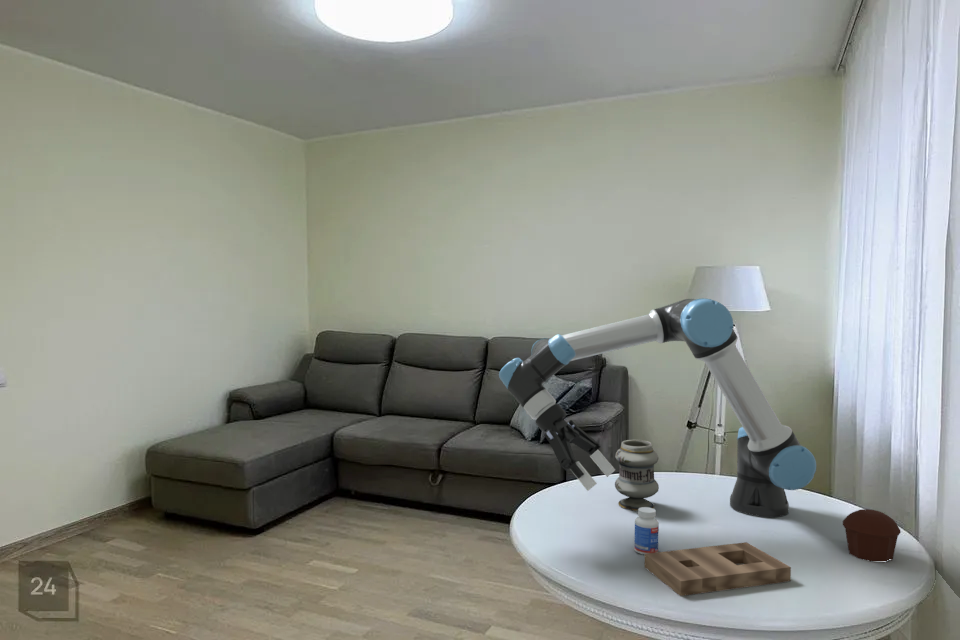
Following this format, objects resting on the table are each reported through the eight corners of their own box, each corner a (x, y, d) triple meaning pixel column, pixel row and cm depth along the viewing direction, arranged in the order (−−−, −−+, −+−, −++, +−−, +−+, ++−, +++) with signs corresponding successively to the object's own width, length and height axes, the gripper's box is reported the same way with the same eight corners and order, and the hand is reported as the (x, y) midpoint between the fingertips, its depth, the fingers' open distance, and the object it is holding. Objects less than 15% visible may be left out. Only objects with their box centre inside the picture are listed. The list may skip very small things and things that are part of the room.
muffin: (866, 566, 142) (867, 521, 142) (830, 547, 153) (831, 505, 153) (912, 562, 145) (913, 518, 144) (873, 543, 155) (874, 502, 155)
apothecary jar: (608, 507, 181) (609, 444, 180) (622, 496, 191) (623, 436, 191) (651, 515, 175) (651, 449, 174) (663, 503, 185) (664, 441, 184)
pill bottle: (654, 557, 147) (654, 515, 146) (631, 552, 149) (631, 510, 149) (661, 549, 151) (661, 508, 151) (638, 544, 154) (639, 504, 154)
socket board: (746, 555, 148) (746, 542, 148) (790, 581, 135) (790, 567, 135) (644, 567, 141) (644, 553, 141) (680, 596, 128) (680, 581, 128)
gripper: (555, 413, 174) (608, 477, 167) (513, 430, 153) (572, 503, 146) (574, 395, 172) (628, 459, 165) (534, 409, 150) (595, 483, 143)
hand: (602, 480), depth 155 cm, fingers open, 13 cm apart
